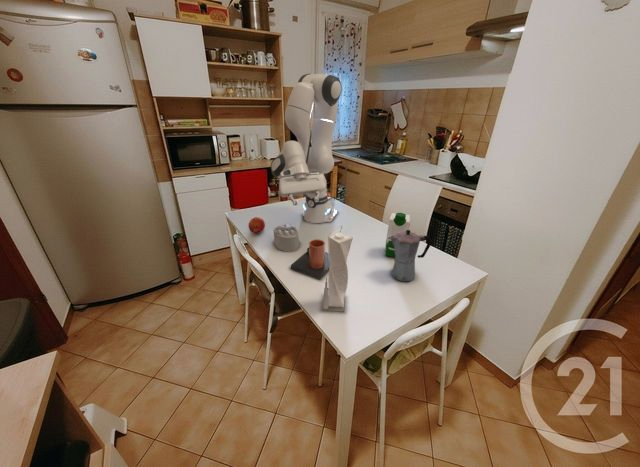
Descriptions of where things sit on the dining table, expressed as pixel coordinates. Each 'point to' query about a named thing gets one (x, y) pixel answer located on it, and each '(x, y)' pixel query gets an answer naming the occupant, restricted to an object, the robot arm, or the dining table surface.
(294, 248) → the lumpy-topped squat cylinder
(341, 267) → the skyscraper
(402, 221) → the milk carton
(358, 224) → the dining table surface
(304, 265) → the dark grey flat block
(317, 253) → the cup
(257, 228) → the apple
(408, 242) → the moka pot
